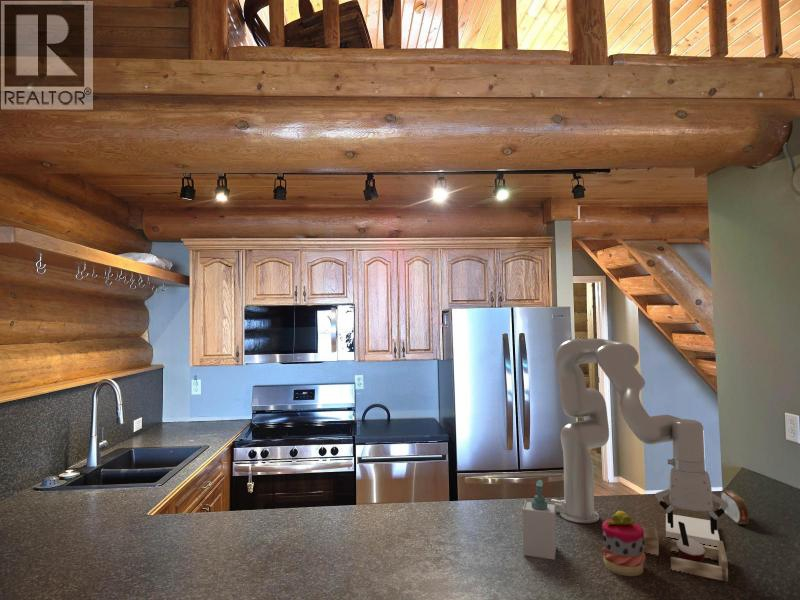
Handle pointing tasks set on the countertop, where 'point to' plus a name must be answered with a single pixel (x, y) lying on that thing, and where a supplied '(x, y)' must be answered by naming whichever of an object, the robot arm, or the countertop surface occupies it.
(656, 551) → the offcut lower
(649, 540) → the offcut upper
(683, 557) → the cocoa
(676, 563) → the frame
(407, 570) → the countertop surface
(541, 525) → the soap bottle
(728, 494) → the tin
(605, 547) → the cake
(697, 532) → the cutting board
